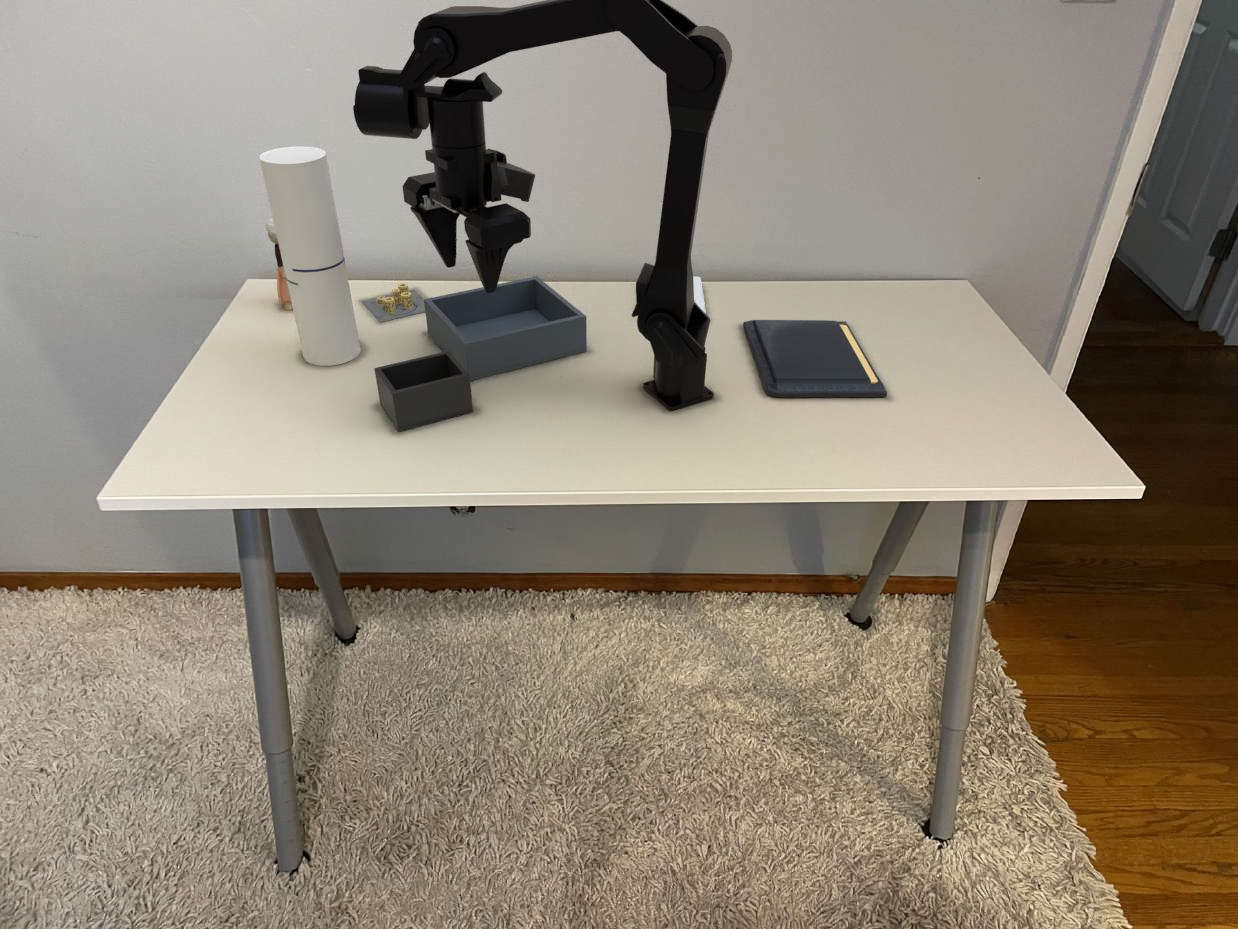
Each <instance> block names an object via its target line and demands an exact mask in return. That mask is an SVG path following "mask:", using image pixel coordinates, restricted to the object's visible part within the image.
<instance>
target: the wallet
mask: <svg viewBox="0 0 1238 929" xmlns="http://www.w3.org/2000/svg"><path fill="white" fill-rule="evenodd" d="M742 328H743V331H744V334H745V337H746V340H747V343H748V345H749V348H750V351H751V353H752V356H753V359H754V362H755V364H756V368H757V372H758V374H759V378H760V382H761V384H762V388H763V390H764V392H765V394H766V395H768V396H771V397H775V398H887V396H888V392H887V390H886V389H887V388H886V387H885V385H884V383H883V382H882V379H880V377H879V376H878V374H877V373H876V371H875V369H874V367H873V365H872V364H871V362H870V361H869V358H868V357H867V355H866V353H865V351H864V350H863V348H862V347H861V345H860V343H859V342H858V340H857V337H856V336H855V334H854V333H853V331H852V329H851V328H850V326H849V323H847V321H846V320H845V321H843V320H842V321H841V320H839V321H837V320H827V319H826V320H825V319H824V320H823V319H822V320H821V319H819V320H817V319H816V320H815V319H813V320H812V319H751V320H746V321H743V324H742Z"/></svg>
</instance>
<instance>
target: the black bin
mask: <svg viewBox="0 0 1238 929" xmlns="http://www.w3.org/2000/svg"><path fill="white" fill-rule="evenodd" d="M373 370H374V375H375V380H376V381H375V382H376V387H377V392H378V398H379V405H380V407H381V408H382V410H383V411H384V413H385V414H386V416H387V417H388V419H389V420H390V423H391V424H392V425H393V426H394V428H395V429H396V431H397V432H398V433H400V432H404V431H408V430H411V429H416V428H419V427H423V426H427V425H430V424H434V423H438V422H442V421H445V420H448V419H452V418H456V417H460V416H463V415H468V414H471V413H474V406H473V405H474V404H473V394H472V385H471V381H470V375H469V373H468V372H467V371H466V370H465V369H464V368H463V367H462V365H461V364H460V363H459V362H458V361H457V360H456V359H455V357H454V356H453V355H452V354H451V353H450V352H449V351H446V352H443V351H441V352H438V353H437V352H436V353H433V354H429V355H425V356H420V357H416V358H411V359H407V360H404V361H398V362H396V363H390V364H385V365H382V366H377V367H374V369H373Z"/></svg>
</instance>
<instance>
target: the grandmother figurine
mask: <svg viewBox="0 0 1238 929" xmlns="http://www.w3.org/2000/svg"><path fill="white" fill-rule="evenodd" d="M265 229H266V231H267V237H268V239H269V240H270V241H271V242H272V243H273V244H274V255H275V259H276V265H277V268H276V292H277V300H278V302H279V303H280V304H282V303H284V304H283V309H284V310H286V311H293V307H292V302H291V298H290V293H289V289H288V284H287V280H286V275H285V271H284V266H283V262H282V257H281V253H280V248H279V244H278V239H277V235H276V230H275V226H274V221H273V217H272V216H271V217H269V218H268V219H267V220H266V222H265Z"/></svg>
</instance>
